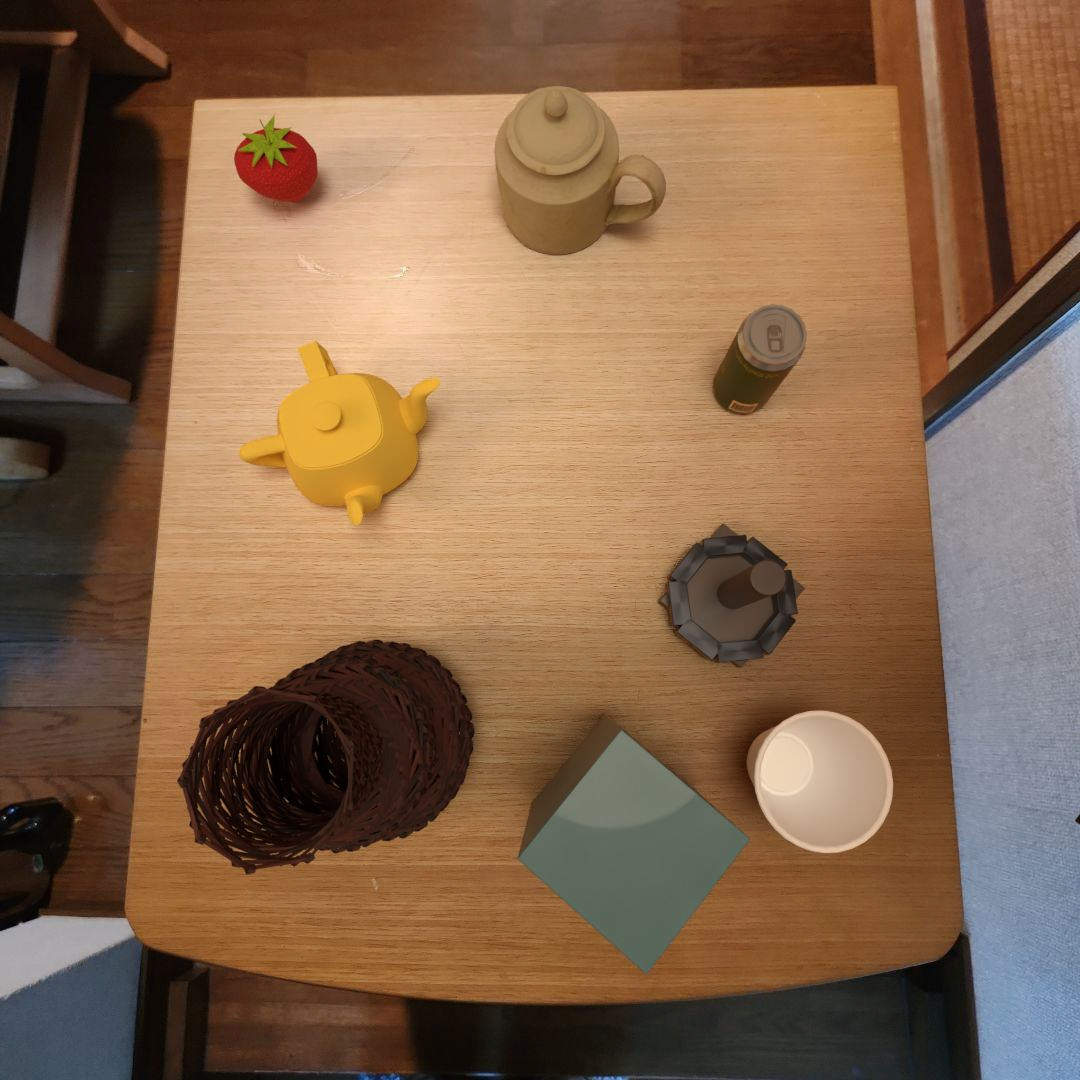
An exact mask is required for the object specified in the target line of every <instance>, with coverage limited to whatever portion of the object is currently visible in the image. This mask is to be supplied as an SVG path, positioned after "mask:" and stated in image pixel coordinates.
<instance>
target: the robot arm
mask: <svg viewBox="0 0 1080 1080" xmlns="http://www.w3.org/2000/svg"><path fill="white" fill-rule="evenodd" d="M1074 822H1075V823H1077V824H1078V825H1079V826H1080V813H1079V814H1078V815H1077V817H1076V818H1075V819H1074Z"/></svg>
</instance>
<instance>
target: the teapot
mask: <svg viewBox="0 0 1080 1080" xmlns="http://www.w3.org/2000/svg"><path fill="white" fill-rule="evenodd" d="M296 349H297V351H298V353H299V356H300V359H301V362H302V365H303V367H304V369H305V373H306V376H307V377H308V380H309V382H308V383H306V384H304V385H302V386H300V387H298V388H297V389H295V390H293V391H292V392H290V393H289V394H288V395H287V396H285V398H283V400H282V402H281V403H280V405H279V406H278V409H277V415H276V428H277V434H273V435H268V436H265V437H260V438H257V439H253V440H250V441H247V442H246V443H244V444H242V445H241V446H240V448H239V450H238V455H239V457H240V459H241V460H242V461H243V462H244V463H247V464H250V465H254V466H259V467H271V468H272V467H273V468H286V469H287V472H288V473H289V476H290V478H291V479H292V481H293V483H294V485H295V487H296V489H297V490H298V491H299V492H300V493H301V494H302V496H303V497H304V498H306V499H307V500H309V501H310V502H311V503H314V504H315V505H320V506H326V507H343V506H344V507H346V513H347V517H348V519H349V522H350V523H351V525H354V526H359V525H361V523H362V521H363V518H364V515H366V514H370V513H371V512H374V511H375V510H377V509H378V508H379V507H380V505H381V504H382V500H383V496H384V495H386V494H388V493H390V492H391V491H393V490H394V489H396V488H397V487H399V486H400V485H402V484H403V483H404V482H405V481H406V480H407V479H408V478H409V477H410V476H411V474H413V472H414V470H415V468H416V466H417V464H418V461H419V446H418V438H417V433H418V432H420V431H421V429H423V427H424V426H425V424H426V423H427V420H428V415H429V414H428V405H427V398H428V396H429V395H431V394H432V393H433V392H435V391H436V390H437V389H438V388H439V387H440V385H441V380H440V379H439V378H437V377H430V378H426V379H423V380H421V381H420V382H418V383H417V384H415V385H414V386H413V387H412V388H411V390H410V391H409V395H406V396H404V397H403V398H402V396H401V394H400V393H399V392H398V390H397V389H396V388H395V387H394V386H393V385H392V384H391V383H390V382H388V381H386V379H385V380H384V378H381V377H379V376H377V375H373V374H369V373H363V372H362V373H360V372H351V373H350V372H349V373H348V372H347V373H338V371H337V370H336V368H335V366H334V363H333V362H332V359H331V357H330V355H329V353H328V351H327V349H326V348H325V347H324V346H322V345H321V344H320V343H319V342H318V340H313V341H312V342H309V343H306V344H303V345H300V346H298V347H296Z"/></svg>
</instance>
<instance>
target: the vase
mask: <svg viewBox="0 0 1080 1080" xmlns="http://www.w3.org/2000/svg"><path fill="white" fill-rule="evenodd" d="M461 689H462V688H461V685H460V684H459V683H458V682H457V681H456V680H455V679H454V678H453V673H452V672H451V670H450V669H448V668H447V667H446V666H444V665H442V663H441V661H440V660H439V659H438V658H437V657H436V656H434V655H433V654H428V652H427V651H426V650H424V649H423V648H419V647H413V646H411V645H410V643H405V642H401V643H400V642H398V641H397V642H396V641H393V640H392V641H391V640H390V641H385V642H384V641H383V640H381V639H373V640H369V641H364V640H363V641H362V640H358V641H355V642H351V643H350V644H345V645H340V646H339V647H338V648H336V649H333V650H331V651H329V652H327V653H326V654H324V655H323V656H322V657H319V658H317V659H315V660H314V661H312V662H308V663H306V664H303V665H302V666H301V667H297V668H295V669H293V670H291V672H289V673H288V674H287V675H286V676H285V677H282V678H280V679H278V680H277V681H276V682H275V684H274V685H273V686H270V687H268V688H266V687H265V686H260V685H254V686H253V687H252V688H251V689H250V690H249V691H247V693H245V694H244V695H242V696H241V697H239V698H236V699H232V700H228V702H227V703H226V705H224V706H221V707H219V708H216V709H214V710H213V712H212V713H211V714H208V715H206V716H203V717H202V718H200V719H199V725H198V728H199V729H198V733H197V735H196V737H195V740H194V742H193V744H192V745H191V746H190V747H189V753H188V755H187V758H186V760H184V762H183V763H182V764H181V766H182V771H181V773H180V776H179V777H178V778H177V780H176V783H177V784H178V785H179V788H180V789H182V792H183V795H184V796H183V797H184V800H185V803H186V809H187V811H188V815H189V818H190V821H189V824H188V826H189V827H190V828H191V829H192V830H193V834H194V843H195V844H199V845H201V846H204V845H205V846H207V847H208V848H210V849H211V850H212V851H215V852H216V853H218V854H219V855H221V856H222V857H224V858H226V859H227V860H229V861H230V863H231V867H232V868H239V869H240V868H241V869H243V870H244V873H245V875H252V874H255V873H256V871H257V870H262V869H267V868H274V867H280V868H281V867H283V866H287V865H290V866H292V867H294V868H295V867H297V866H298V865H299V864H301V863H305V864H307V865H309V864H311V862H313V861H314V860H315V859H316V856H315V854H316V853H317V852H318V851H320V852H325V851H331V852H332V853H333V854H339V853H343V852H345V851H347V852H349V853H352V852H357V851H359V850H360V849H361V847H362V848H367V847H369V846H371V845H373V844H375V843H377V842H380V841H382V842H390V841H393V840H395V839H397V838H399V839H406V838H408V837H409V836H411V835H412V834H413V833H414V832H416V833H417V832H421V831H422V830H424V829H426V827H428V826H429V822H430V823H432V822H434V821H435V820H436V819H437V818H438V816H439V815H440V814H441V812H443V811H444V810H445V809H446V808H447V807H448V806H449V805H450V803H451V801H452V800H454V799H455V798H456V797H457V794H458V793H459V790H460V787H461V786H462V785H463V784H464V782H465V779H466V776H467V773H468V768H469V766H470V758H471V755H472V754H473V752H474V741H473V738H474V736H475V725H474V723H473V722H472V721H473V718H474V717H473V713H472V711H471V709H470V707H469V705H467V704H468V699H467V697H466V696H465V694H464V693H463V692H462V690H461ZM223 805H224V806H225V808H224V806H223ZM198 808H199V809H200V810H201V811H200V810H199V809H198ZM250 811H251V812H250ZM233 848H235V849H237V850H234V849H233ZM238 850H239V851H238ZM311 851H312V852H311ZM300 853H301V854H300ZM298 854H299V855H298ZM243 858H245V859H243Z"/></svg>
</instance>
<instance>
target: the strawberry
mask: <svg viewBox="0 0 1080 1080" xmlns="http://www.w3.org/2000/svg"><path fill="white" fill-rule="evenodd" d="M275 117H276V115H275V114H274V115H273V116H272V117H271V118H270V119H269V121H268V122H267V123H266V125H265V126H264V124H263V121H262V120H261V118H259V119H258V121H259V123H260V125H261V126H262V129H260V130H259V129H258V130H257V131H255V132H252V133H250V132H249V133H248V132H242V136H244V137H245V138H244V139H243V140H242V141H241V142H240V143H239V145H237V147H236V150H235V152H234V157H233V162H234V166H235V170H236V173H237V174H238V177H239V179H240V180H241V181H242V182H243V183H244V184H245V185H246V186H248V187H249V188H250V189H251V190H252V191H254V192H256V193H257V194H258V195H260V196H262V197H264V198H267V199H271V200H275V201H278V202H283V203H284V202H285V203H299V202H301V201H302V200H303V199H304V198H305V197H306V196H307V195H308V194H309V193H310V191H311V190H312V188H313V186H314V185H315V182H316V180H317V179H318V173H319V170H318V169H319V168H318V157H317V153H316V150H315V149H314V147H313V146H312V145H311V144H310V143H309V141H308V140H307V139H306V138H305V137H304V136H303V135H301V134H300V133H298V132H296V131H294V130H291V129H292V127H286V128H280V127H275Z"/></svg>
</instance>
